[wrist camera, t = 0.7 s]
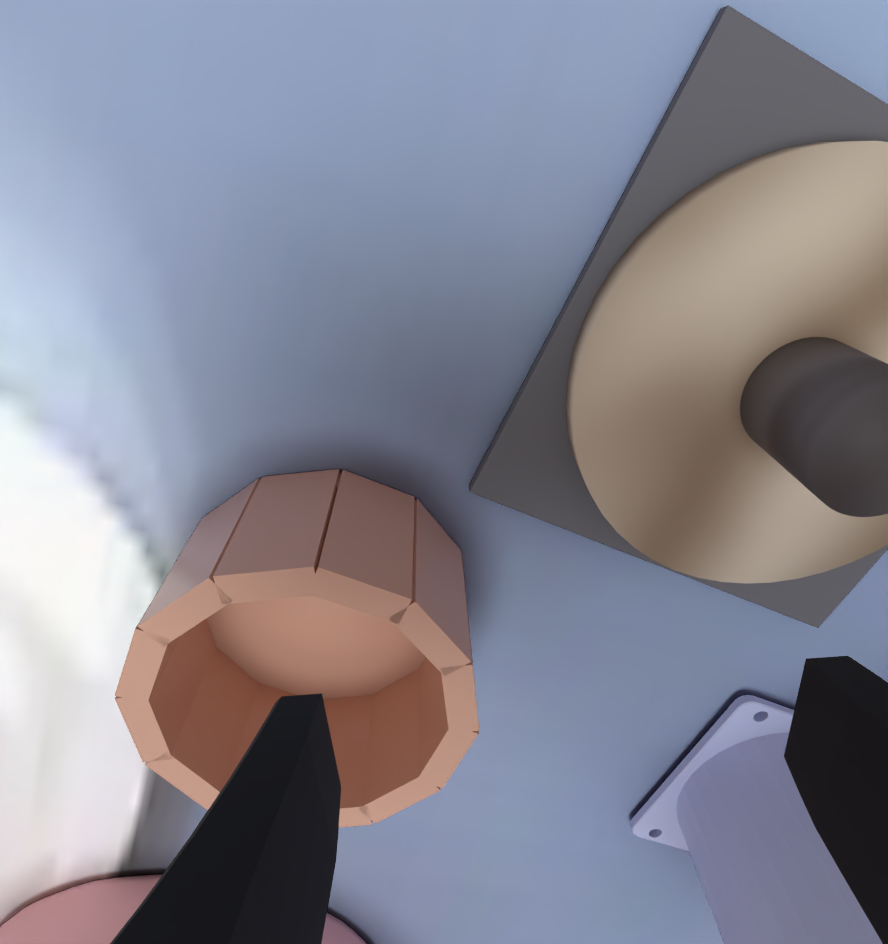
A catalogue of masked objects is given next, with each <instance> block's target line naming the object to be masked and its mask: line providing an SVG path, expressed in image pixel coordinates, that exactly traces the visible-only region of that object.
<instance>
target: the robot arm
mask: <svg viewBox="0 0 888 944" xmlns="http://www.w3.org/2000/svg"><path fill="white" fill-rule="evenodd" d="M757 712H758V713H757ZM340 799H341V783H340V778H339V774H338V769H337V764H336V759H335V754H334V749H333V744H332V740H331V735H330V730H329V725H328V720H327V715H326V711H325V706H324V701H323V696H322V693H321V694H307V695H293V696H281V697H280V698H279V699H278V700H277V701H276V702H275V704H274V706H273V707H272V709H271V711H270V713H269V714H268V716H267V718H266V719H265V721H264V723H263V725H262V726H261V728H260V730H259V731H258V733H257V735H256V736H255V738H254V740H253V741H252V743H251V744H250V746H249V748H248V749H247V751H246V753H245V754H244V756H243V757H242V759H241V761H240V762H239V764H238V765H237V767H236V768H235V770H234V772H233V773H232V775H231V776H230V778H229V780H228V781H227V783H226V784H225V786H224V787H223V789H222V790H221V792H220V793H219V795H218V796H217V798H216V799H215V801H214V802H213V804H212V805H211V807H210V808H209V810H208V811H207V813H206V814H205V816H204V817H203V818H202V820H201V821H200V823H199V824H198V826H197V827H196V829H195V830H194V832H193V833H192V835H191V836H190V838H189V839H188V840H187V842H186V843H185V845H184V846H183V847H182V849H181V850H180V852H179V853H178V854H177V856H176V857H175V858H174V860H173V861H172V862H171V864H170V865H169V867H168V868H167V869H166V871H165V872H164V873H163V875H162V876H161V877H160V879H159V880H158V882H157V883H156V884H155V886H154V887H153V888H152V890H151V891H150V892H149V894H148V895H147V897H146V898H145V899H144V901H143V902H142V903H141V905H140V906H139V907H138V909H137V910H136V911H135V912H134V914H133V915H132V916H131V918H130V919H129V920H128V921H127V923H126V924H125V925H124V926H123V928H122V929H121V930H120V932H119V933H118V934H117V935H116V937H115V938H114V939H113V940H112V942H111V943H110V944H321V943H322V937H323V932H324V926H325V920H326V915H327V909H328V903H329V897H330V892H331V886H332V880H333V874H334V868H335V862H336V853H337V840H338V828H339V814H340ZM630 826H631V830H632V832H633V834H634V835H636V836H638V837H641V838H644V839H648V840H651V841H655V842H658V843H662V844H665V845H669V846H672V847H676V848H679V849H683V850H686V851H689V852H690V855H691V857H692V860H693V863H694V865H695V868H696V871H697V873H698V876H699V879H700V881H701V884H702V886H703V889H704V892H705V894H706V897H707V900H708V902H709V905H710V908H711V910H712V913H713V916H714V918H715V921H716V923H717V926H718V929H719V931H720V934H721V937H722V939H723V942H724V944H888V683H887V682H886V681H884V680H883V679H882V678H880V677H879V676H877V675H876V674H874V673H873V672H871V671H870V670H868V669H867V668H865V667H864V666H862V665H861V664H859V663H858V662H856V661H855V660H853V659H852V658H850V657H848V656H839V657H825V658H811V659H806V662H805V666H804V670H803V675H802V679H801V683H800V688H799V692H798V696H797V701H796V705H795V709H794V710H792V709H789V708H787V707H784V706H781V705H778V704H775V703H773V702H770V701H767V700H764V699H761V698H758V697H756V696H752V695H743V696H741V697H738V698H737V699H736V700H735V701H734V702H733V703H732V704H731V705H730V706H729V707H728V709H727V710H726V711H725V712H724V713H723V714H722V715H721V717H720V718H719V719H718V720H717V721H716V722H715V724H714V725H713V726H712V727H711V728H710V729H709V730H708V732H707V733H706V734H705V735H704V736H703V737H702V739H701V740H700V741H699V742H698V743H697V744H696V745H695V747H694V748H693V749H692V750H691V751H690V752H689V754H688V755H687V756H686V757H685V758H684V759H683V760H682V762H681V763H680V764H679V765H678V766H677V767H676V769H675V770H674V771H673V772H672V773H671V774H670V775H669V777H668V778H667V779H666V780H665V781H664V782H663V784H662V785H661V786H660V787H659V788H658V789H657V790H656V792H655V793H654V794H653V795H652V796H651V797H650V799H649V800H648V801H647V802H646V803H645V804H644V805H643V807H642V808H641V809H640V810H639V811H638V812H637V814H636V815H635V816H634V817H633V818H632V819H631V821H630Z"/></svg>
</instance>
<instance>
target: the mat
mask: <svg viewBox="0 0 888 944" xmlns="http://www.w3.org/2000/svg"><path fill="white" fill-rule="evenodd" d="M842 141H883V142H888V104H886V103H885V102H883V101H881V100H880V99H878V98H877V97H875V96H873V95H872V94H870V93H869V92H867V91H865V90H864V89H862V88H860V87H859V86H857V85H856V84H854V83H852V82H851V81H849V80H848V79H846V78H844V77H843V76H841V75H839V74H838V73H836V72H835V71H833V70H831V69H830V68H828V67H827V66H825V65H823V64H822V63H820V62H819V61H817V60H815V59H814V58H812V57H810V56H809V55H807V54H806V53H804V52H802V51H801V50H799V49H798V48H796V47H794V46H793V45H791V44H789V43H788V42H786V41H785V40H783V39H781V38H780V37H778V36H777V35H775V34H773V33H772V32H770V31H769V30H767V29H765V28H764V27H762V26H760V25H759V24H757V23H756V22H754V21H752V20H751V19H749V18H748V17H746V16H744V15H743V14H741V13H739V12H738V11H736V10H735V9H733V8H731V7H730V6H726V7H724V8H722V9H720V11H719V13H718V15H717V17H716V19H715V20H714V22H713V24H712V26H711V28H710V30H709V32H708V34H707V36H706V38H705V39H704V41H703V43H702V45H701V47H700V49H699V51H698V53H697V55H696V56H695V58H694V60H693V62H692V64H691V66H690V68H689V70H688V72H687V74H686V75H685V77H684V79H683V81H682V83H681V85H680V87H679V89H678V91H677V92H676V94H675V96H674V98H673V100H672V102H671V104H670V106H669V108H668V110H667V111H666V113H665V115H664V117H663V119H662V121H661V123H660V125H659V127H658V128H657V130H656V132H655V134H654V136H653V138H652V140H651V142H650V144H649V146H648V147H647V149H646V151H645V153H644V155H643V157H642V159H641V161H640V163H639V164H638V166H637V168H636V170H635V172H634V174H633V176H632V178H631V180H630V182H629V183H628V185H627V187H626V189H625V191H624V193H623V195H622V197H621V199H620V200H619V202H618V204H617V206H616V208H615V210H614V212H613V214H612V216H611V218H610V219H609V221H608V223H607V225H606V227H605V229H604V231H603V233H602V235H601V236H600V238H599V240H598V242H597V244H596V246H595V248H594V250H593V252H592V254H591V255H590V257H589V259H588V261H587V263H586V265H585V267H584V269H583V271H582V272H581V274H580V276H579V278H578V280H577V282H576V284H575V286H574V288H573V290H572V291H571V293H570V295H569V297H568V299H567V301H566V303H565V305H564V307H563V308H562V310H561V312H560V314H559V316H558V318H557V320H556V322H555V324H554V326H553V327H552V329H551V331H550V333H549V335H548V337H547V339H546V341H545V343H544V344H543V346H542V348H541V350H540V352H539V354H538V356H537V358H536V360H535V362H534V363H533V365H532V367H531V369H530V371H529V373H528V375H527V377H526V379H525V380H524V382H523V384H522V386H521V388H520V390H519V392H518V394H517V396H516V398H515V399H514V401H513V403H512V405H511V407H510V409H509V411H508V413H507V415H506V416H505V418H504V420H503V422H502V424H501V426H500V428H499V430H498V432H497V434H496V435H495V437H494V439H493V441H492V443H491V445H490V447H489V449H488V451H487V453H486V454H485V456H484V458H483V460H482V462H481V464H480V466H479V468H478V470H477V471H476V473H475V475H474V477H473V479H472V481H471V483H470V485H469V490H470V492H471V493H474V494H476V495H479V496H481V497H484V498H486V499H489V500H492V501H494V502H497V503H499V504H502V505H504V506H507V507H509V508H512V509H515V510H517V511H520V512H522V513H525V514H527V515H530V516H532V517H535V518H538V519H540V520H543V521H545V522H548V523H550V524H553V525H556V526H558V527H561V528H563V529H566V530H568V531H571V532H573V533H576V534H579V535H581V536H584V537H586V538H589V539H591V540H594V541H596V542H599V543H602V544H604V545H607V546H609V547H612V548H614V549H617V550H620V551H622V552H625V553H627V554H630V555H632V556H635V557H637V558H640V559H643V560H645V561H648V562H650V563H653V564H655V565H658V566H661V567H663V568H666V569H668V570H671V571H673V572H676V573H678V574H681V575H684V576H686V577H689V578H691V579H694V580H696V581H699V582H701V583H704V584H707V585H709V586H712V587H714V588H717V589H719V590H722V591H725V592H727V593H730V594H732V595H735V596H737V597H740V598H742V599H745V600H748V601H750V602H753V603H755V604H758V605H760V606H763V607H765V608H768V609H771V610H773V611H776V612H778V613H781V614H783V615H786V616H789V617H791V618H794V619H796V620H799V621H801V622H804V623H806V624H809V625H812V626H814V627H817V628H818V627H819V626H820V625H821V624H822V623H823V622H824V621H825V620H826V618H827V617H828V616H829V615H830V614H831V613H832V612H833V610H834V609H835V608H836V607H837V606H838V605H839V604H840V603H841V601H842V600H843V599H844V598H845V597H846V596H847V595H848V594H849V592H850V591H851V590H852V589H853V588H854V587H855V586H856V584H857V583H858V582H859V581H860V580H861V579H862V578H863V577H864V575H865V574H866V573H867V572H868V571H869V570H870V569H871V568H872V566H873V565H874V564H875V563H876V562H877V561H878V560H879V558H880V557H881V556H882V555H883V554H884V553H885V552H886V551H887V549H888V545H886V546H884V547H883V548H881V549H879V550H877V551H875V552H873V553H871V554H869V555H867V556H864V557H862V558H860V559H858V560H856V561H854V562H851V563H849V564H846V565H843V566H840V567H837V568H835V569H832V570H829V571H826V572H823V573H819V574H815V575H811V576H807V577H803V578H799V579H792V580H786V581H779V582H772V583H749V584H745V583H730V582H719V581H714V580H708V579H703V578H697V577H694V576H691V575H688V574H685V573H682V572H679V571H675V570H673V569H671V568H669V567H667V566H665V565H662V564H660V563H658V562H656V561H654V560H652V559H651V558H649V557H648V556H646V555H645V554H643V553H642V552H640V551H639V550H637V549H636V548H634V547H633V546H632V545H631V544H630V543H629V542H627V541H626V540H625V539H624V538H623V537H622V536H621V535H620V534H618V533H617V532H616V530H615V529H614V528H613V527H612V526H611V524H610V523H609V522H608V521H607V519H606V518H605V517H604V516H603V515H602V513H601V511H600V510H599V508H598V506H597V505H596V503H595V501H594V500H593V498H592V496H591V494H590V492H589V490H588V488H587V486H586V484H585V482H584V480H583V478H582V475H581V473H580V470H579V468H578V465H577V463H576V460H575V458H574V455H573V450H572V446H571V442H570V438H569V433H568V423H567V411H566V400H567V382H568V375H569V370H570V365H571V360H572V354H573V350H574V347H575V344H576V341H577V338H578V335H579V332H580V329H581V326H582V323H583V321H584V319H585V316H586V314H587V312H588V310H589V308H590V306H591V304H592V302H593V299H594V297H595V295H596V293H597V292H598V290H599V289H600V287H601V285H602V284H603V282H604V281H605V279H606V277H607V276H608V274H609V273H610V271H611V269H612V268H613V266H614V265H615V264H616V263H617V261H618V260H619V259H620V258H621V256H622V255H623V254H624V253H625V251H626V250H627V249H628V248H629V246H630V245H631V244H632V242H633V241H634V240H635V239H636V238H637V237H638V236H639V235H640V234H641V233H642V232H643V231H644V230H645V229H646V228H647V227H648V226H649V225H650V224H651V223H652V222H653V221H654V220H655V219H656V218H657V217H658V216H659V215H660V214H662V213H663V212H664V211H665V210H667V209H668V208H669V207H670V206H672V205H673V204H674V203H675V202H677V201H678V200H679V199H680V198H682V197H683V196H684V195H686V194H687V193H688V192H690V191H691V190H693V189H695V188H696V187H698V186H700V185H701V184H703V183H704V182H706V181H708V180H709V179H711V178H712V177H714V176H716V175H717V174H719V173H721V172H724V171H726V170H728V169H730V168H732V167H734V166H737V165H739V164H741V163H743V162H745V161H747V160H750V159H752V158H755V157H758V156H762V155H765V154H768V153H771V152H774V151H777V150H780V149H784V148H789V147H794V146H800V145H806V144H811V143H817V142H842Z"/></svg>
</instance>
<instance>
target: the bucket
mask: <svg viewBox="0 0 888 944" xmlns="http://www.w3.org/2000/svg"><path fill="white" fill-rule="evenodd" d="M414 498H415V497H414V496H411V495H409V494H406V493H403V492H401V491H398V490H395V489H393V488H390V487H388V486H385V485H382V484H380V483H377V482H375V481H372V480H369V479H367V478H364V477H361V476H359V475H356V474H354V473H351V472H348V471H346V470H342V473H341V474H340V470H339V469H334V470H324V471H314V472H304V473H294V474H284V475H274V476H264V477H262V478H261V480H260V479H259V478H258V479H256V480H255V481H254V482H252V483H251V484H249V485H248V486H247V487H245V488H244V489H242V490H241V491H240V492H238V493H237V494H235V495H234V496H233V497H231V498H230V499H228V500H227V501H225V502H224V503H223V504H221V505H220V506H218V507H217V508H216V509H214V510H213V511H211V512H210V513H209V514H207V515H206V516H204V517H203V518H202V519H201V520H200V522H199V524H198V525H197V527H196V529H195V530H194V532H193V534H192V535H191V537H190V539H189V540H188V542H187V544H186V545H185V547H184V549H183V550H182V552H181V554H180V555H179V557H178V559H177V560H176V562H175V564H174V565H173V567H172V569H171V570H170V572H169V574H168V575H167V577H166V579H165V580H164V582H163V584H162V585H161V587H160V589H159V590H158V592H157V594H156V595H155V597H154V599H153V600H152V602H151V604H150V605H149V607H148V609H147V610H146V612H145V614H144V615H143V617H142V619H141V620H140V622H139V624H138V625H137V627H136V629H135V632H134V635H133V638H132V641H131V645H130V648H129V651H128V654H127V658H126V661H125V664H124V667H123V670H122V674H121V677H120V680H119V683H118V687H117V690H116V693H115V696H116V698H115V700H116V702H117V705H118V707H119V709H120V711H121V714H122V716H123V718H124V720H125V723H126V725H127V727H128V729H129V732H130V734H131V736H132V739H133V741H134V743H135V745H136V748H137V750H138V752H139V754H140V757H141V759H142V761H143V762H146V764H145V765H146V766H148V767H149V768H150V769H152V770H153V771H154V772H156V773H157V774H159V775H160V776H161V777H163V778H164V779H165V780H167V781H168V782H170V783H171V784H172V785H174V786H175V787H176V788H178V789H179V790H181V791H182V792H183V793H185V794H186V795H187V796H189V797H190V798H192V799H193V800H194V801H196V802H197V803H198V804H200V805H201V806H202V807H204V808H205V809H207V810H208V809H209V808H210V807H211V805H212V804H213V802H214V801H215V799H216V798H217V796H218V795H219V793H220V792H221V790H222V789H223V787H224V786H225V784H226V783H227V781H228V780H229V778H230V776H231V775H232V773H233V772H234V770H235V768H236V767H237V765H238V764H239V762H240V761H241V759H242V757H243V756H244V754H245V753H246V751H247V749H248V748H249V746H250V744H251V743H252V741H253V740H254V738H255V736H256V735H257V733H258V731H259V730H260V728H261V726H262V725H263V723H264V721H265V719H266V718H267V716H268V714H269V713H270V711H271V709H272V707H273V706H274V704H275V702H276V701H277V700H278V699H279V698H280V697H281V696H293V695H307V694H321V693H322V696H323V701H324V706H325V711H326V715H327V720H328V725H329V730H330V735H331V740H332V744H333V749H334V754H335V759H336V764H337V769H338V774H339V778H340V783H341V799H340V814H339V827H349V826H360V825H371V824H372V821H373V822H374V823H377V822H379V821H381V820H383V819H385V818H387V817H389V816H391V815H393V814H395V813H397V812H399V811H401V810H403V809H405V808H407V807H409V806H411V805H413V804H415V803H417V802H418V801H420V800H422V799H424V798H426V797H428V796H430V795H432V794H434V793H436V792H438V791H440V788H443V787H444V786H445V784H446V783H447V781H448V780H449V778H450V776H451V775H452V773H453V772H454V770H455V769H456V767H457V766H458V764H459V763H460V761H461V760H462V758H463V757H464V755H465V754H466V752H467V751H468V749H469V748H470V746H471V745H472V743H473V741H474V740H475V738H476V737H477V735H478V734H479V733H478V731H479V722H478V712H477V701H476V691H475V680H474V670H473V660H472V649H471V639H470V628H469V618H468V608H467V598H466V588H465V578H464V568H463V559H462V553H461V550H460V549H459V547H458V546H457V545H456V544H455V543H454V541H453V540H452V539H451V538H450V537H449V536H448V534H447V533H446V532H445V531H444V530H443V528H442V527H441V526H440V525H439V524H438V523H437V521H436V520H435V519H434V518H433V517H432V515H431V514H430V513H429V512H428V511H427V510H426V508H425V507H424V506H423V505H422V504H421V502H420V501H419V500H418V499H416V500H415V501H414Z"/></svg>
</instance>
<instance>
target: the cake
mask: <svg viewBox="0 0 888 944" xmlns="http://www.w3.org/2000/svg"><path fill="white" fill-rule="evenodd" d="M162 875H163V874H160V875H145V876H132V877H119V878H111V879H104V880H97V881H92V882H89V883H85V884H82V885H78V886H75V887H72V888H69V889H67V890H64V891H61V892H58V893H56V894H53V895H51V896H48V897H45V898H43V899H40V900H38V901H36V902H34V903H32V904H30V905H28V906H26V907H25V908H24V909H22V910H21V911H20V912H18V913H17V914H16V915H15V916H13V917H12V918H11V919H9V920H8V921H7V922H6V923H4V924H3V925H2V926H1V927H0V944H110V943H111V942H112V940H113V939H114V938H115V937H116V935H117V934H118V933H119V932H120V930H121V929H122V928H123V926H124V925H125V924H126V923H127V921H128V920H129V919H130V918H131V916H132V915H133V914H134V912H135V911H136V910H137V909H138V907H139V906H140V905H141V903H142V902H143V901H144V899H145V898H146V897H147V895H148V894H149V892H150V891H151V890H152V888H153V887H154V886H155V884H156V883H157V882H158V880H159V879H160V877H161V876H162ZM321 944H367V943H366V942H365V941H364V940H363V939H362V938H361V937H360V936H358V935H357V934H356V933H355V932H354V931H353V930H352V929H351V928H350V927H348V926H347V925H346V924H345V923H343V922H342V921H341V920H339V919H337V918H336V917H334V916H332V915H330V914H328V913H327V915H326V920H325V926H324V932H323V937H322V943H321Z"/></svg>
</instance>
